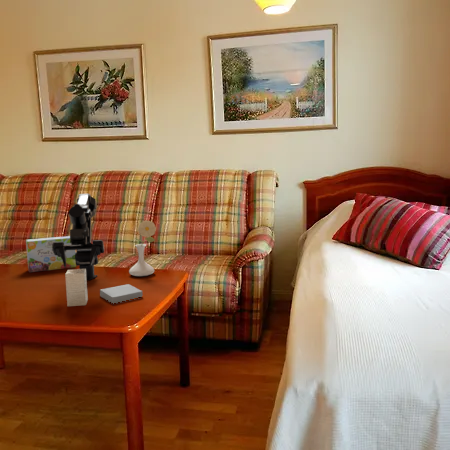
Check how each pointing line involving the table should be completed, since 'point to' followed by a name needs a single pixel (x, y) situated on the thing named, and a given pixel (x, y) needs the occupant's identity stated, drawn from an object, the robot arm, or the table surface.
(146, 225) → the flower in vase
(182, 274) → the table surface
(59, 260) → the snack box
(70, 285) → the cream block
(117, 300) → the grey block
